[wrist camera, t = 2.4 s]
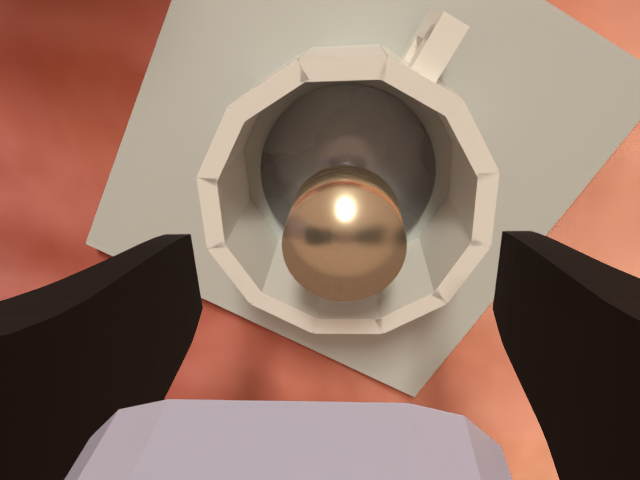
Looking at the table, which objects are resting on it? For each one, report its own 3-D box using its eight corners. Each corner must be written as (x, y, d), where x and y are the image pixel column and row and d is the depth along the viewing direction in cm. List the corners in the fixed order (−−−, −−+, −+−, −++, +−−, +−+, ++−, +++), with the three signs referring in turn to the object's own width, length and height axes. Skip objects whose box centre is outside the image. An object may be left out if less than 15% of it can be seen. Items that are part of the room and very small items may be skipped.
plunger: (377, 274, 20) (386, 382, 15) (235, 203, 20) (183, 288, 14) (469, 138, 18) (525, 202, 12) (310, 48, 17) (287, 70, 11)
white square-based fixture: (412, 385, 24) (426, 473, 19) (94, 235, 22) (25, 296, 17) (658, 77, 18) (764, 102, 13) (245, -183, 15) (198, -263, 11)
